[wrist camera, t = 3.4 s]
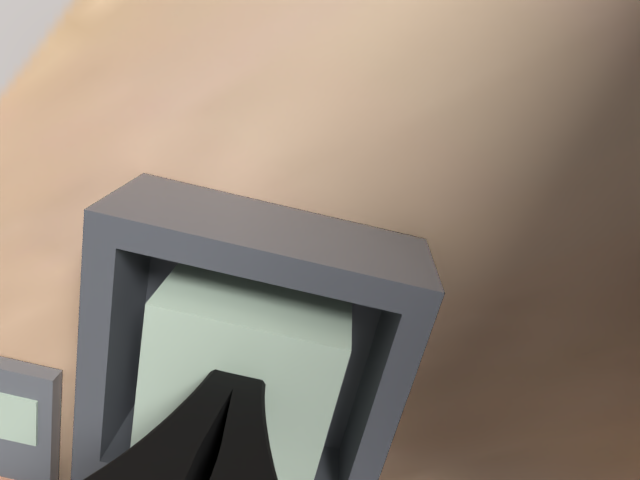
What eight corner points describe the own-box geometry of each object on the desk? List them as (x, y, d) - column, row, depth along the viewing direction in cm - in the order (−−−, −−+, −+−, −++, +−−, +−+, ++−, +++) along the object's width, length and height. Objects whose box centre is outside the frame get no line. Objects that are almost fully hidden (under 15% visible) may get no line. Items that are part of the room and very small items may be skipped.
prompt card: (62, 370, 18) (51, 382, 17) (56, 528, 21) (46, 544, 20) (-22, 351, 18) (-37, 363, 17) (-16, 512, 21) (-28, 527, 20)
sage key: (352, 292, 15) (351, 351, 12) (316, 424, 17) (307, 501, 14) (185, 254, 15) (145, 303, 12) (167, 391, 17) (128, 461, 14)
